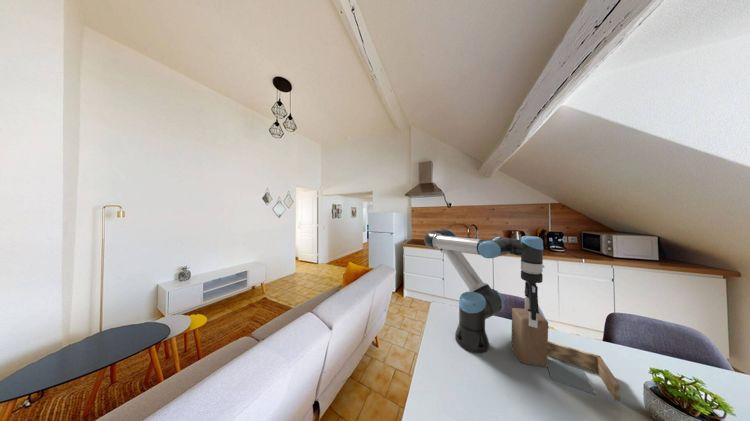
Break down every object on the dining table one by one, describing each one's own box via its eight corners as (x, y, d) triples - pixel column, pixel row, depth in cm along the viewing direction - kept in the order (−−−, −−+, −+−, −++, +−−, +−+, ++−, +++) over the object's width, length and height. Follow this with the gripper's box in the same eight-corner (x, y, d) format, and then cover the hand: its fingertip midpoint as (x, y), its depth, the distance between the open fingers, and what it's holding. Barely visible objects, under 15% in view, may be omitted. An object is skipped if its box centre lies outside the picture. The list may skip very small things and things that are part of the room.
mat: (551, 379, 76) (551, 378, 76) (544, 358, 86) (544, 357, 86) (595, 394, 70) (595, 394, 70) (582, 370, 80) (582, 370, 80)
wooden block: (548, 368, 81) (549, 321, 81) (521, 364, 83) (522, 318, 83) (534, 350, 91) (535, 308, 91) (510, 347, 93) (511, 306, 93)
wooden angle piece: (554, 378, 77) (554, 363, 76) (545, 353, 90) (546, 340, 89) (619, 401, 68) (619, 385, 67) (599, 370, 80) (600, 356, 80)
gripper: (549, 282, 73) (547, 337, 74) (537, 265, 94) (536, 308, 95) (524, 278, 77) (523, 331, 78) (518, 262, 98) (517, 304, 99)
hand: (530, 318), depth 86 cm, fingers open, 13 cm apart
